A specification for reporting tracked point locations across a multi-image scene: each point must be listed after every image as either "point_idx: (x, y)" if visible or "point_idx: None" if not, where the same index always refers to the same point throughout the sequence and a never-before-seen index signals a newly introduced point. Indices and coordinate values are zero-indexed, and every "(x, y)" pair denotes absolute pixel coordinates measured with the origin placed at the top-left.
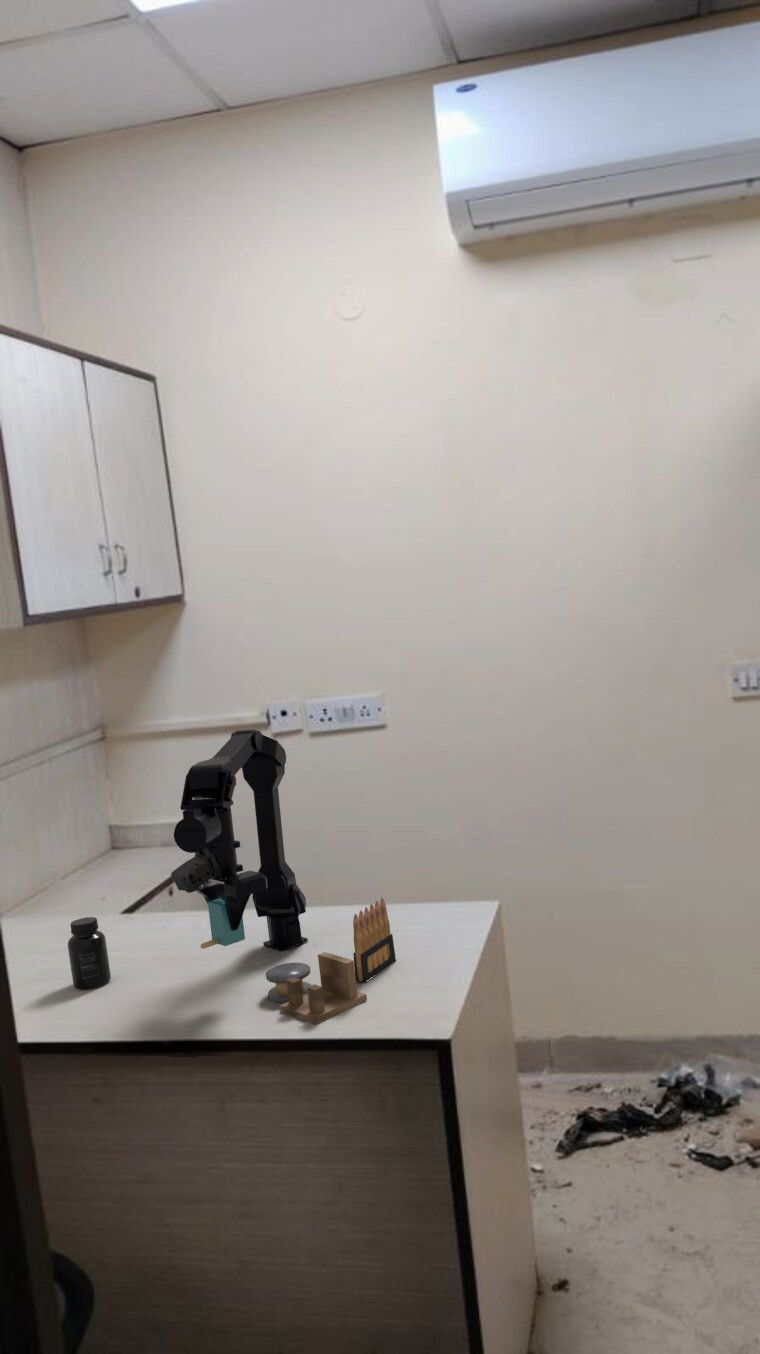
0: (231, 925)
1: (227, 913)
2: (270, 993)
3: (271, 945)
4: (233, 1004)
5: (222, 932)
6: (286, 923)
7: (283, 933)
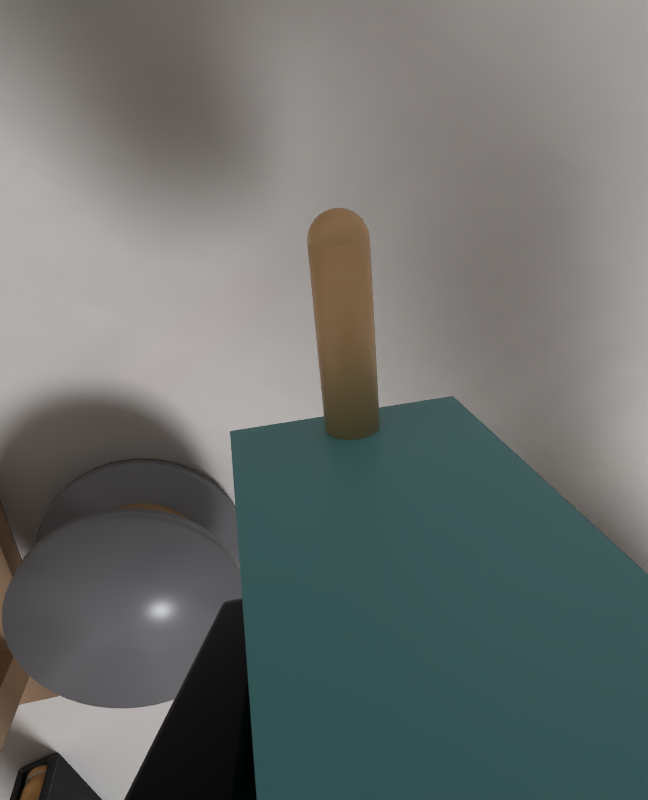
0: (211, 641)
1: (231, 789)
2: (178, 483)
3: None
4: (240, 318)
5: (265, 497)
6: None
7: None
